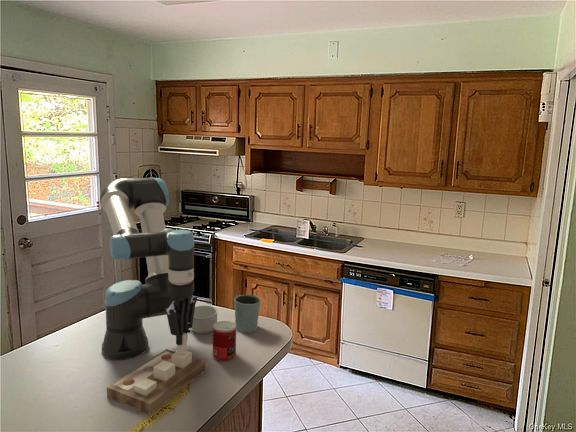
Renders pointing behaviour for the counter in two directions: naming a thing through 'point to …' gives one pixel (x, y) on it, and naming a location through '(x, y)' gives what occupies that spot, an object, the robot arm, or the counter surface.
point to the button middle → (164, 370)
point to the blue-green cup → (246, 313)
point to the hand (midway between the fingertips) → (181, 352)
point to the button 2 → (182, 359)
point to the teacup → (204, 319)
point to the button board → (164, 390)
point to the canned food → (224, 340)
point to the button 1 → (145, 386)
